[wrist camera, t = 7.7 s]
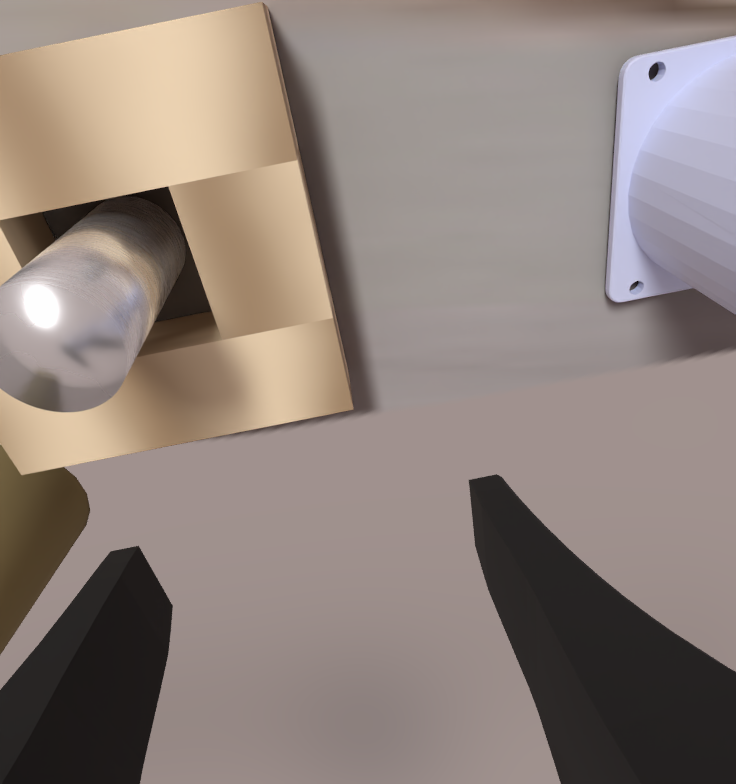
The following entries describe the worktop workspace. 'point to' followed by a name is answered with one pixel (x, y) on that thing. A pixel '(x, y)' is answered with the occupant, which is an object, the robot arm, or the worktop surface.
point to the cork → (34, 535)
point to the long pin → (87, 305)
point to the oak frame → (199, 221)
